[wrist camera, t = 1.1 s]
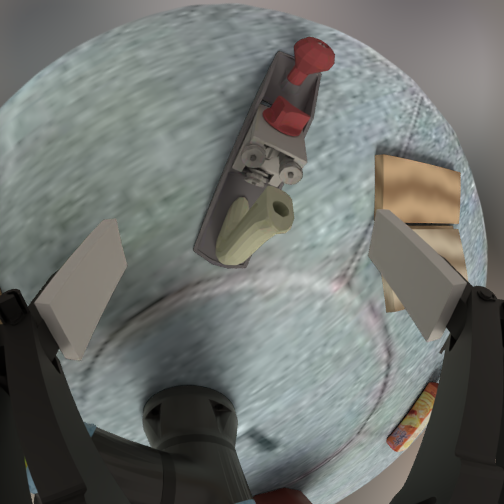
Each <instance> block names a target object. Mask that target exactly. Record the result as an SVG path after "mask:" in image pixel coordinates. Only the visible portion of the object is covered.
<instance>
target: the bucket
mask: <svg viewBox="0 0 504 504" xmlns="http://www.w3.org/2000/svg"><path fill="white" fill-rule="evenodd" d="M253 500H254V501H255V503H256V504H312V503H311V502H310V501H309V500H308V498H307V497H306V496H305V495H304V494H303V493H302V492H301V491H299V490H294V489H289V488H281V489H278V490H274V491H270V492H266V493H262V494H258V495H255V496H254V497H253Z"/></svg>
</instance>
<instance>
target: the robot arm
mask: <svg viewBox="0 0 504 504" xmlns="http://www.w3.org/2000/svg"><path fill="white" fill-rule="evenodd" d="M368 257H369V258H370V259H371V261H372V262H373V263H374V265H375V266H376V267H377V269H378V270H379V272H380V273H381V274H382V276H383V277H384V279H385V280H386V281H387V283H388V284H389V286H390V287H391V288H392V290H393V291H394V293H395V294H396V296H397V297H398V299H399V300H400V302H401V303H402V305H403V306H404V308H405V309H406V311H407V312H408V314H409V315H410V317H411V318H412V320H413V321H414V323H415V324H416V326H417V328H418V329H419V331H420V332H421V334H422V335H423V337H424V339H425V340H426V342H429V341H433V340H437V339H440V338H441V336H442V334H443V333H444V331H445V329H446V327H447V329H448V330H449V332H450V334H449V336H448V338H447V340H446V342H445V343H444V345H443V347H442V348H441V350H440V352H439V353H440V354H442V352H443V350H445V354H444V360H443V365H442V370H441V375H440V380H439V384H438V389H437V393H436V397H435V401H434V404H433V408H432V412H431V415H430V418H429V422H428V425H427V428H426V431H425V434H424V437H423V440H422V443H421V446H420V448H419V451H418V454H417V456H416V459H415V461H414V464H413V466H412V469H411V471H410V474H409V476H408V478H407V480H406V482H405V484H404V486H403V487H402V489H401V490H400V491H399V492H398V493H397V494H396V495H395V496H394V498H393V499H392V501H391V502H390V503H389V504H504V300H500V299H497V298H496V296H495V295H494V294H493V292H491V291H490V290H489V289H487V288H485V287H482V286H474V287H473V286H472V285H471V284H470V283H469V282H468V281H467V280H466V279H465V278H464V277H463V276H462V275H461V274H460V273H459V272H458V271H456V269H455V268H454V267H453V266H451V264H450V263H449V262H448V261H447V260H446V259H445V258H444V257H443V256H441V255H439V254H438V253H437V252H436V251H435V250H434V249H433V248H432V247H431V246H430V245H429V244H427V243H426V242H425V241H424V240H423V239H422V238H421V237H420V236H419V235H418V234H417V233H415V232H414V231H413V230H412V229H411V228H410V227H409V226H408V225H406V224H405V223H404V222H403V221H402V220H401V219H399V218H398V217H397V216H396V215H395V214H394V213H392V212H391V211H390V210H385V209H377V210H376V216H375V222H374V227H373V233H372V238H371V243H370V248H369V253H368ZM126 267H127V262H126V258H125V254H124V250H123V246H122V242H121V238H120V234H119V229H118V225H117V220H116V219H106V220H103V221H102V222H101V223H100V224H99V225H98V226H97V227H96V228H95V229H94V230H93V231H92V232H91V233H90V235H89V236H88V237H87V238H86V239H85V240H84V241H83V242H82V244H81V245H80V246H79V247H78V248H77V249H76V250H75V252H74V253H73V254H72V255H71V256H70V257H69V259H68V260H67V261H66V262H65V263H64V265H63V266H62V267H61V268H60V269H59V270H58V271H57V272H55V273H54V274H53V275H52V276H51V277H50V278H49V279H48V281H47V282H46V284H44V286H43V287H42V290H40V291H39V292H38V294H37V295H36V296H35V298H34V299H33V300H32V302H31V303H30V305H29V306H27V304H26V302H25V300H24V298H23V296H22V294H21V292H20V290H18V289H11V290H8V291H6V292H5V293H3V294H2V295H0V320H1V322H2V323H3V324H0V504H33V503H32V499H31V494H30V493H33V494H35V497H34V504H256V503H255V501H254V500H253V497H252V494H251V492H250V489H249V487H248V484H247V481H246V479H245V476H244V473H243V470H242V468H241V465H240V462H239V459H238V456H237V453H236V450H235V444H236V436H237V428H238V420H237V416H236V413H235V410H234V407H233V405H232V403H231V402H230V401H229V400H228V399H227V398H226V397H225V396H224V395H222V394H221V393H219V392H217V391H215V390H212V389H209V388H206V387H201V386H191V385H187V386H177V387H172V388H168V389H165V390H163V391H161V392H159V393H157V394H155V395H154V396H153V397H151V398H150V399H149V401H148V402H147V403H146V405H145V407H144V410H143V428H144V432H145V434H146V436H147V439H148V441H149V443H150V446H151V447H148V446H145V445H142V444H139V443H136V442H133V441H130V440H128V439H125V438H122V437H120V436H117V435H115V434H112V433H110V432H107V431H105V430H102V429H100V428H98V427H96V425H94V424H88V423H86V422H83V420H82V418H81V416H80V413H79V411H78V409H77V406H76V404H75V402H74V399H73V397H72V394H71V392H70V389H69V386H68V384H67V381H66V378H65V375H64V372H63V370H62V367H61V364H60V361H59V359H58V358H57V356H56V354H57V352H58V350H59V348H60V350H61V352H62V353H63V355H64V356H65V358H66V359H72V360H78V361H81V360H82V357H83V355H84V353H85V350H86V348H87V346H88V344H89V341H90V339H91V337H92V335H93V333H94V330H95V328H96V326H97V324H98V322H99V320H100V318H101V316H102V314H103V312H104V309H105V307H106V305H107V303H108V301H109V299H110V298H111V296H112V294H113V292H114V290H115V288H116V286H117V284H118V282H119V280H120V278H121V277H122V275H123V273H124V271H125V269H126ZM495 458H496V461H495ZM25 460H26V463H27V469H26V465H25Z"/></svg>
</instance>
